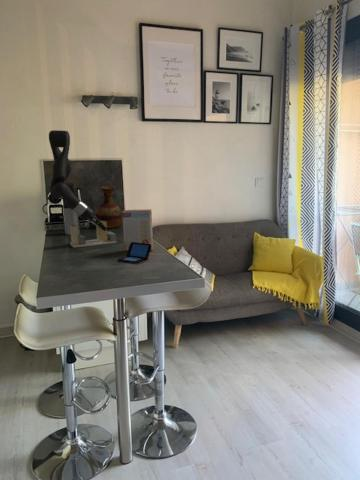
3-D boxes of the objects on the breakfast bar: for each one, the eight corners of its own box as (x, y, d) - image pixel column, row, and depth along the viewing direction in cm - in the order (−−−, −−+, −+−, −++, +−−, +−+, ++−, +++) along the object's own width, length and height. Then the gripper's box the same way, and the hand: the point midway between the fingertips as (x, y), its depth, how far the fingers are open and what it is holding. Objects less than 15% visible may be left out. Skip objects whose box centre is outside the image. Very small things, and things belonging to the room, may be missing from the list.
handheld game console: (116, 261, 174) (115, 245, 173) (131, 257, 183) (131, 241, 182) (138, 265, 167) (137, 248, 166) (152, 259, 176) (152, 243, 175)
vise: (69, 243, 219) (69, 235, 218) (110, 239, 229) (110, 231, 228) (73, 247, 208) (72, 238, 207) (116, 242, 218) (116, 234, 217)
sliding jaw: (70, 241, 219) (69, 224, 217) (81, 240, 221) (79, 223, 219) (74, 245, 208) (73, 227, 206) (85, 244, 210) (84, 226, 209)
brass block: (97, 240, 222) (95, 221, 220) (105, 239, 224) (104, 220, 222) (98, 241, 217) (97, 222, 215) (107, 240, 219) (106, 221, 217)
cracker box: (153, 249, 198) (151, 208, 194) (151, 251, 192) (149, 210, 188) (127, 249, 199) (124, 209, 196) (124, 251, 194) (122, 210, 190)
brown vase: (95, 230, 267) (92, 186, 261) (95, 225, 286) (93, 185, 281) (123, 228, 271) (121, 185, 265) (122, 224, 290) (120, 184, 285)
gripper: (89, 206, 207) (111, 225, 214) (84, 204, 220) (105, 222, 227) (80, 216, 206) (102, 235, 213) (75, 214, 219) (96, 232, 225)
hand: (104, 228), depth 220 cm, fingers open, 8 cm apart
